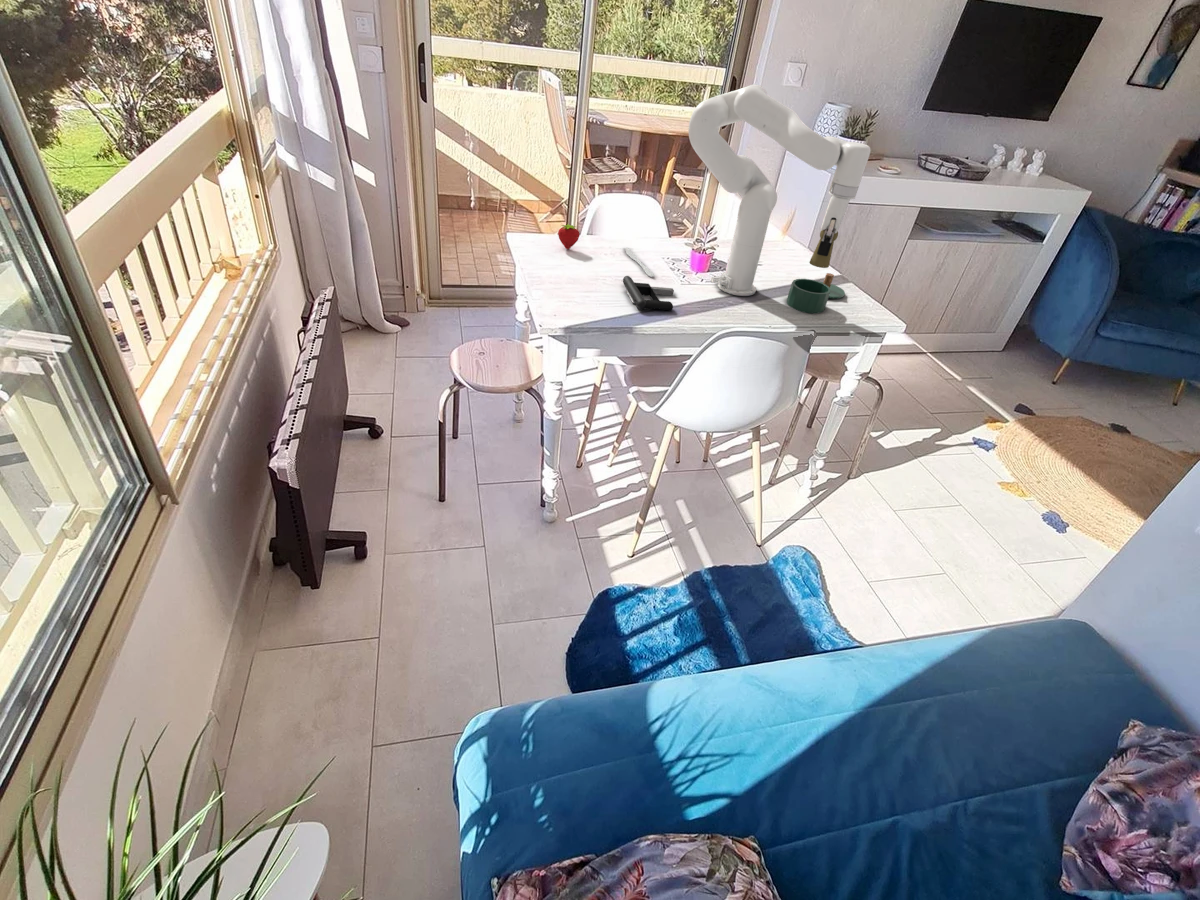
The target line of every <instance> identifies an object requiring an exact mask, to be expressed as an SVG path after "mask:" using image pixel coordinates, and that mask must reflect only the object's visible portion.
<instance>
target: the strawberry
mask: <svg viewBox="0 0 1200 900" xmlns="http://www.w3.org/2000/svg"><path fill="white" fill-rule="evenodd" d="M569 223H570V221H568V222H567V224H561V228H559V229H558V232H557V236H558V239H559V241H560V243H561V244H562V245H563V247H564V249H566V250H570V249H571V248H572V247H573V246H574V245H575V244H576V243H577V242H578V241H579V238H580V235H581V234H580V231H579V230H578V228H577V226H574V224H573V225H572V224H569Z"/></svg>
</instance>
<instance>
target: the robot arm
mask: <svg viewBox="0 0 1200 900" xmlns="http://www.w3.org/2000/svg"><path fill="white" fill-rule="evenodd" d="M693 109H694V110H693V111H692V113H691V115H690V119H689V123H688V128H687V129H688V138H689V143H690V145H691V147H692V149H693V151H695V153H696V155H697V156H698V158H699V159H700V160H701V161H702V162H703V163H704V165H705V167H707V169H708V171H709V172H710V173H711V174H712V175H713V177H714V178H715V179H716V180H717V182H718V183H719V184H720V186H721V187H722V188H723V189H724V190H725V191H726V192H727V193H729V194H738V196H739V197H740V198H741V201H740V204H739V206H738V212H737V219H736V222H735V223H736V224H735V229H734V233H733V237H732V242H731V247H730V251H729V255H728V259H727V264H726V268H725V272H721V275H719V276H711V277H710V283H711V284H717V288H718V289H720V290H721V291H722V292H725V293H727V294H729V295H734V296H738V297H750V296H753V295H755V294H756V291H757V287H756V285H755V284H754V281H755V277H756V273H757V269H758V266H759V262H760V258H761V254H762V251H763V246H764V242H765V238H766V235H767V232H768V231H767V230H768V227H769V223H770V219H771V215H772V212H773V211H774V209H775V206H776V204H777V201H778V193H777V190H776V188H775V186H774V185H773V183H772V182H771V181H770V180H769V179H768V177H767V176H766V174H765V173H764V172H763V171H762V169H761V168H760V167H759V166H758V164H757V163H756V162H755V161H754V160H753V159H752V158H751V157H749V156H747V155H745V154H737V153H736V152H735V151H734V150H733V149H732V147H731V146H730V144H729V143H728V142H727V141H726V139H725V138H724V137H723V136H722V135H721V134H720V131H719V129H720V128H723V127H724V126H728V125H731V124H735V123H738V122H742V121H744V122H745V123H746V124H748V125H749V126H751V127H753V128H754V129H756V130H758V131H759V132H761V133H763V134H764V135H766V136H768V137H769V138H771V139H772V140H774V141H775V142H777V143H778V145H780V146H781V147H782V148H784V149H785V150H786V151H788V152H789V153H790V154H791V155H793V156H794V157H796V158H797V159H799V160H800V161H802V162H803V163H805V164H807V165H809V166H810V167H812V168H813V169H816V170H819V171H826V170H830V169H832V168H833V167H834V166H836V167H835V171H834V174H833V177H832V180H831V184H830V188H829V190H828V194H829V195H830V198H829V201H828V204H827V208H826V209H825V213H824V216H823V219H822V223H821V226H820V232H821V231H822V230H825V229H826V230H825V233H824V236H823V239H822V241H821V242H820V245H819V249H818V252H817V254H818V255H822V256H828V253H829V250H830V247H831V244H832V243H831V242H832V239H833V236H834V233H837V231H838V232H839V229H840V227H841V224H842V222H843V219H844V217H845V215H846V212H847V209H848V207H849V203H850V200H854V199H856V196H857V194H858V190H859V189H860V188H859V187H860V184H861V183H862V178H863V176H864V173H865V170H866V167H867V164H868V161H869V158H870V156H871V152H872V151H871V146H869V145H867V144H866V143H862V142H857V141H848V140H845V139H841V138H839V137H836V136H831V135H828V136H822V135H821V134H819V133H817V132H816V131H814V130H813V129H811V127H809V126H808V125H806V124H805V123H804V122H803V120H802V119H801V117H800V116H799V115H798V113H797V112H796V111H795V110H794V109H792V108H790V107H789V106H787V105H786V104H784V103H782V102H781V101H779V100H777V99H776V98H775V97H773V96H771V95H770V94H768V91H767V90H766V88H765V87H763V86H762V85H759V84H749V85H747V86H744V87H742V88H738V89H736V90H731V91H729V92H725V93H721V94H718V95H715V96H711V97H709V98H707V99H704V100H702V101H701V102H699V103H698V104H697V105H696V107H694V108H693ZM827 229H828V231H827ZM832 230H834V232H832ZM826 233H827V234H826ZM831 234H832V235H831ZM824 238H825V239H824Z"/></svg>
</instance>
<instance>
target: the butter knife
mask: <svg viewBox="0 0 1200 900" xmlns="http://www.w3.org/2000/svg"><path fill="white" fill-rule="evenodd" d="M625 253H626V255H627V256H628V257H629V258H631V259H632V260H633V261H635V262H636V263H637V264H638V265H639V266H640V267H641V268H642V270H643V272H644V273H645V274H646V275H647V276H648V277H651V278H655V273H653V271H652V270H651V269H649V268H648V267H647V266H646V265H645V264H644V263H643V262H641V260H640V259H639V258H638V257H637V256H636V254H635V253H634V252H633V251H632V250H631V249H630V248H629V247H625Z"/></svg>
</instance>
